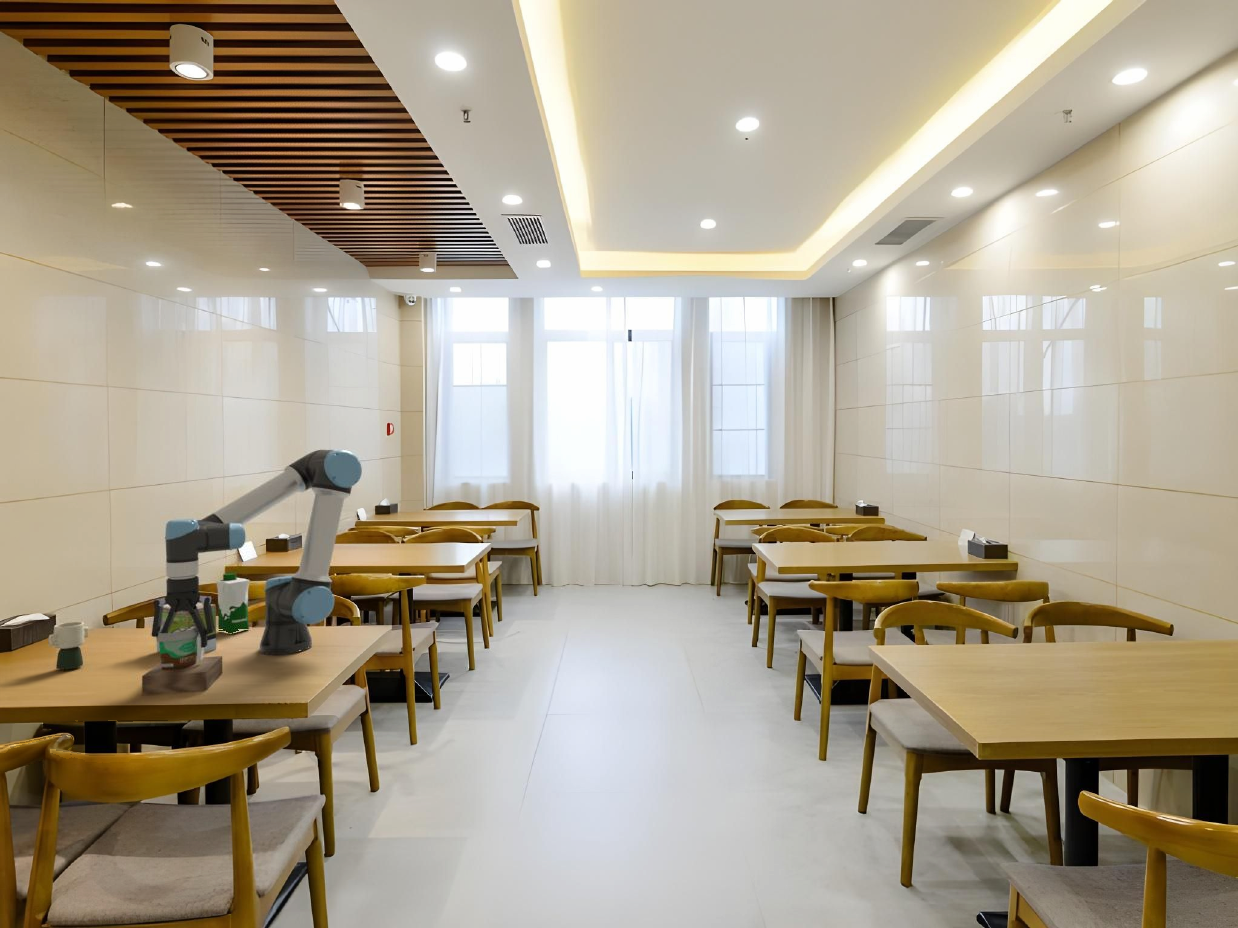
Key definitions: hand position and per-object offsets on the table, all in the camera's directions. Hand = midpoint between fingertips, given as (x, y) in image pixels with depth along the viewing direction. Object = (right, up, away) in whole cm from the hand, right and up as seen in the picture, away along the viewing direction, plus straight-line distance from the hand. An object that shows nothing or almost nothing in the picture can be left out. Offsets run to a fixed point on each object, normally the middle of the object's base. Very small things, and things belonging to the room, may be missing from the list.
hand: (184, 660), depth 197 cm
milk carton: (-17, -5, +57) cm, 59 cm away
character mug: (-42, -7, +14) cm, 45 cm away
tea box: (-19, -6, +32) cm, 38 cm away
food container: (0, -2, 0) cm, 2 cm away
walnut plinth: (0, -6, 0) cm, 6 cm away
